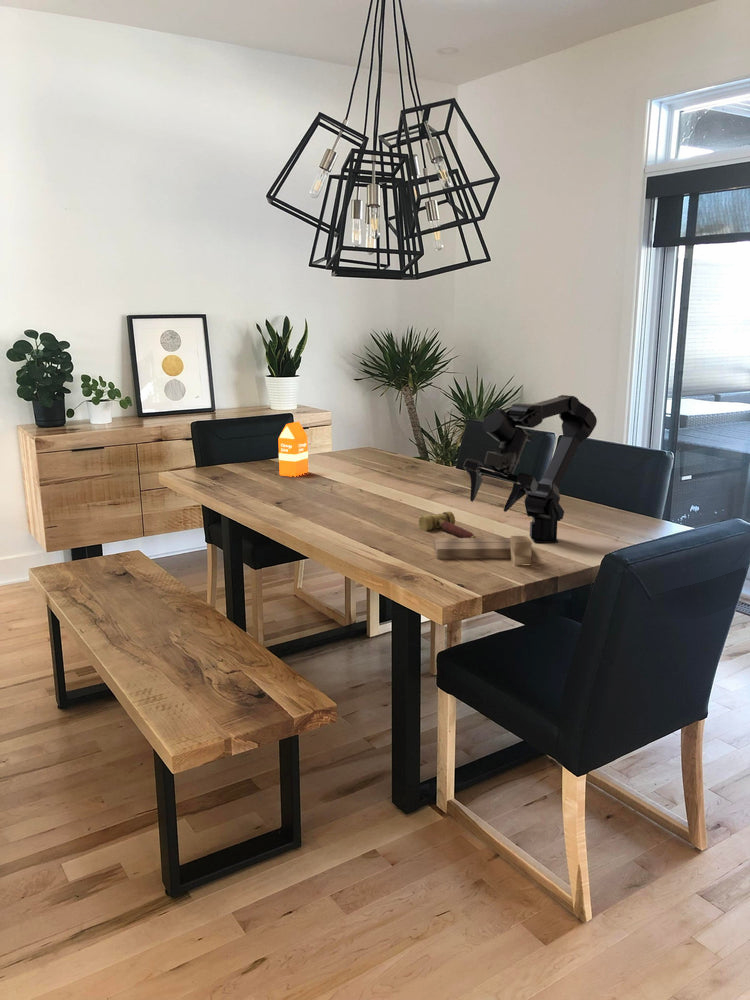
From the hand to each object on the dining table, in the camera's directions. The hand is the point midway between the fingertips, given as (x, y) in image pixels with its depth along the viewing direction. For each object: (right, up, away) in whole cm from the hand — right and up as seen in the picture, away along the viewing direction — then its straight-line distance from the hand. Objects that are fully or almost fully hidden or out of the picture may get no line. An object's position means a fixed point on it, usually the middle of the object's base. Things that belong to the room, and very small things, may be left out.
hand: (487, 506), depth 203 cm
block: (+8, -13, +2) cm, 16 cm away
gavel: (-6, -9, +25) cm, 27 cm away
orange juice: (-60, +11, +112) cm, 127 cm away
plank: (-1, -12, +7) cm, 14 cm away
